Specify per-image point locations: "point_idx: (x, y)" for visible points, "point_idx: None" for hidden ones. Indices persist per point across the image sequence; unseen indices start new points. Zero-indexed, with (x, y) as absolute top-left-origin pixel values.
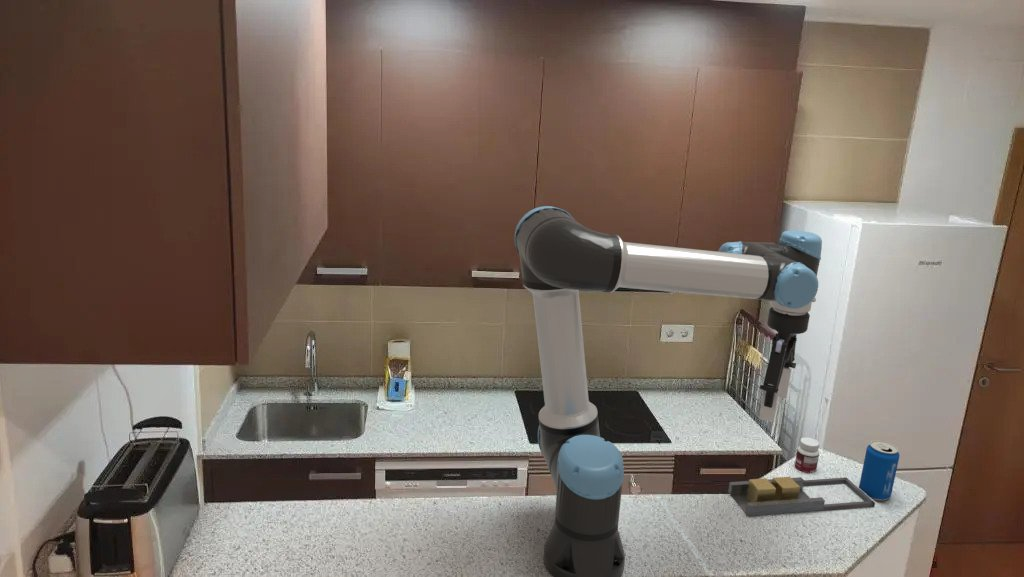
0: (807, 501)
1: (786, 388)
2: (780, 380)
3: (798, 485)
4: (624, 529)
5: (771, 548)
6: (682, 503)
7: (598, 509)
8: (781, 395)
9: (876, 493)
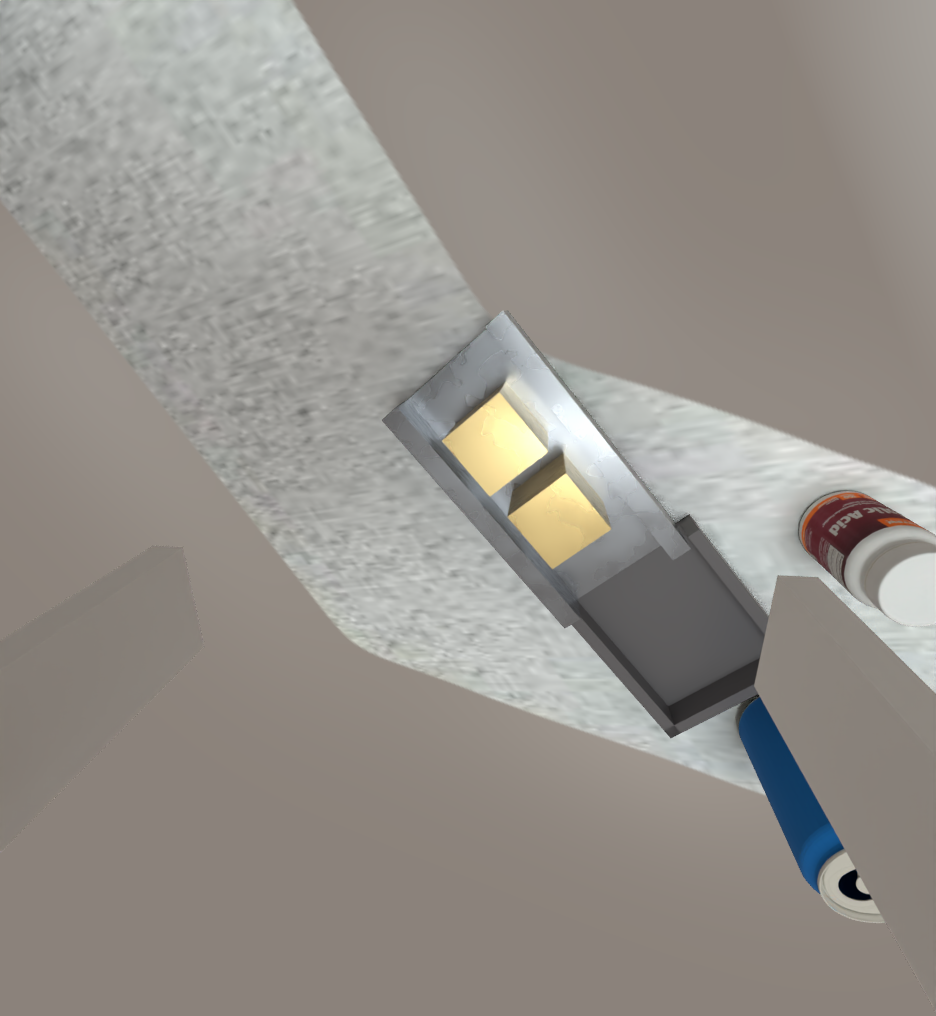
0: (527, 582)
1: (803, 755)
2: (865, 757)
3: (560, 563)
4: (96, 29)
5: (322, 494)
6: (377, 165)
7: None
8: (767, 659)
9: (744, 740)
